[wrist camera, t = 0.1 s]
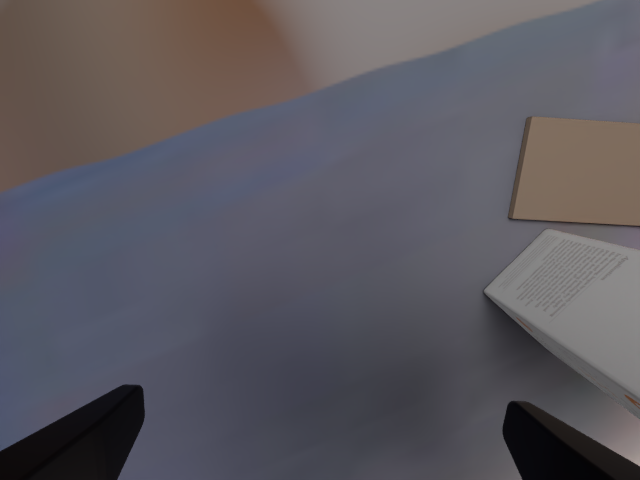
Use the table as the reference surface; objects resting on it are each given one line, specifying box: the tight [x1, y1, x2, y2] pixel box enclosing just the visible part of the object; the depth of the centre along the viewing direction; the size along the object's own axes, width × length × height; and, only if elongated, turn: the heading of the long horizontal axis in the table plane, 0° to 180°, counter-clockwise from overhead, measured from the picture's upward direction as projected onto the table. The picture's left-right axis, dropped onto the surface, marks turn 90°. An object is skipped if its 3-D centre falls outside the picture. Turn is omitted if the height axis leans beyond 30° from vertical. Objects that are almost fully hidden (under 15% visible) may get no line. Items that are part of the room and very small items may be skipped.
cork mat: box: [508, 117, 640, 226], centre depth 21 cm, size 6×12×1 cm, turn 87°
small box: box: [484, 229, 640, 419], centre depth 17 cm, size 8×6×13 cm
